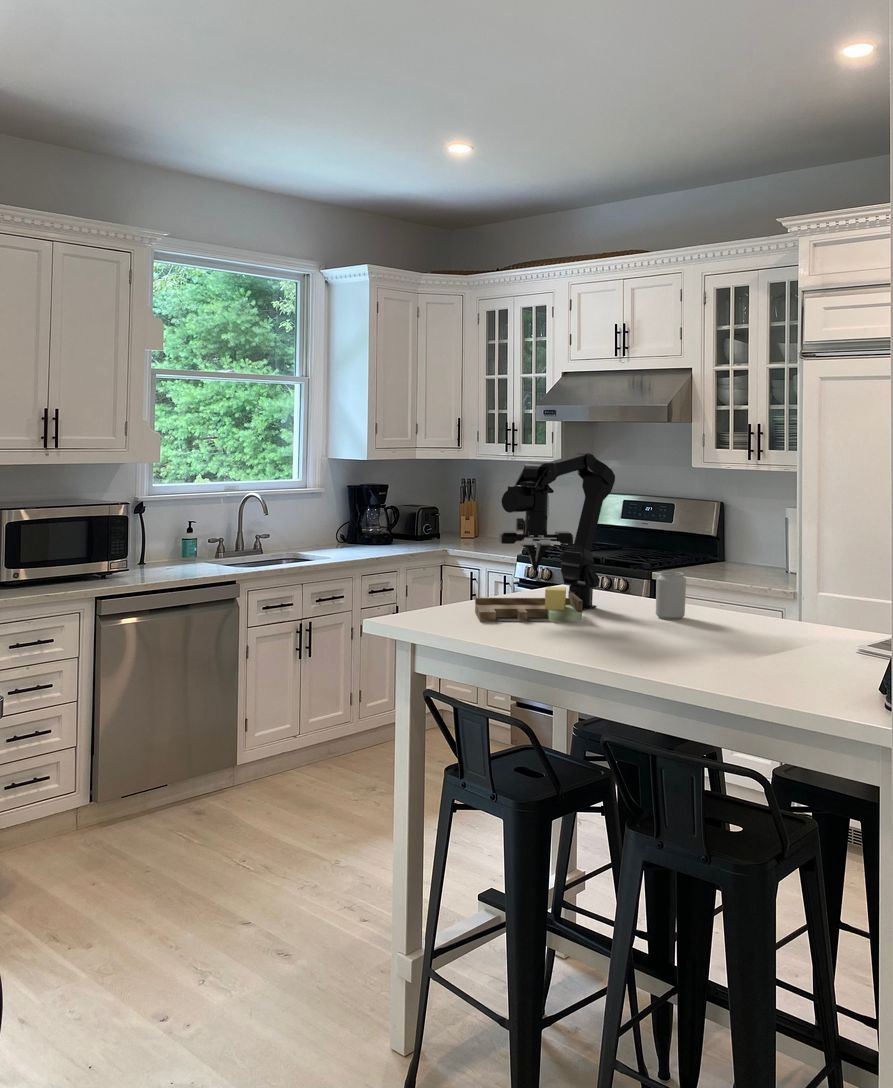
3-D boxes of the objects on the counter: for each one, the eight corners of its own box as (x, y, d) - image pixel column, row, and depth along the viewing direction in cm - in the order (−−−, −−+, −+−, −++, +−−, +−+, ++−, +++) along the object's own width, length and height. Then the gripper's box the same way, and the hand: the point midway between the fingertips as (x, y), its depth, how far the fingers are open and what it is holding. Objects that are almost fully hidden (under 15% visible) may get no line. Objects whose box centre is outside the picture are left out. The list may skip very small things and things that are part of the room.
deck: (571, 612, 261) (572, 592, 261) (581, 622, 249) (582, 600, 248) (475, 612, 260) (475, 592, 259) (480, 621, 247) (480, 600, 246)
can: (682, 615, 260) (684, 570, 259) (686, 620, 253) (688, 574, 251) (653, 614, 261) (655, 570, 260) (657, 619, 254) (658, 574, 252)
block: (565, 606, 257) (566, 587, 256) (564, 609, 252) (564, 590, 251) (546, 605, 257) (546, 586, 257) (544, 608, 253) (545, 589, 252)
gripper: (566, 508, 263) (564, 566, 264) (496, 508, 261) (495, 566, 263) (574, 512, 252) (572, 572, 253) (502, 511, 250) (501, 572, 252)
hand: (535, 570), depth 256 cm, fingers closed
